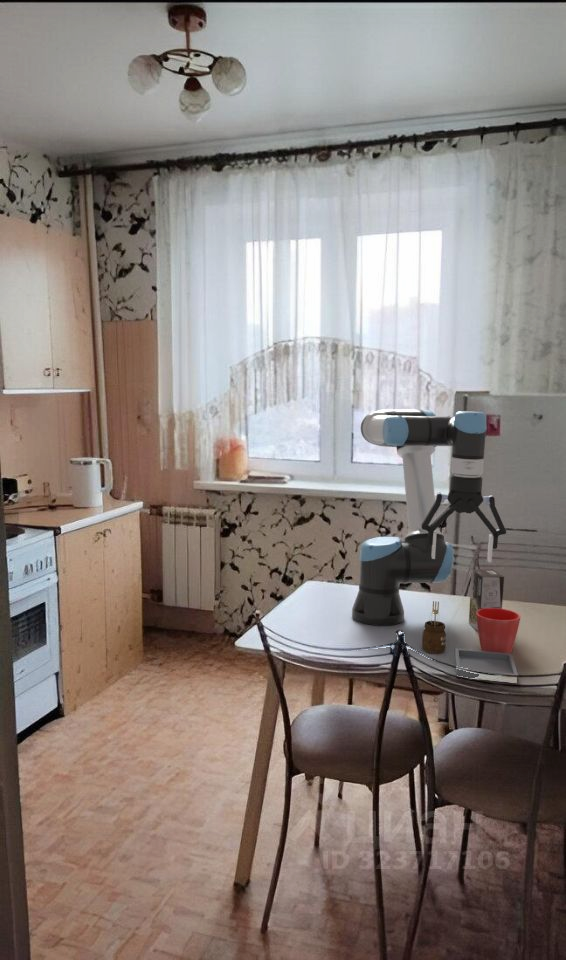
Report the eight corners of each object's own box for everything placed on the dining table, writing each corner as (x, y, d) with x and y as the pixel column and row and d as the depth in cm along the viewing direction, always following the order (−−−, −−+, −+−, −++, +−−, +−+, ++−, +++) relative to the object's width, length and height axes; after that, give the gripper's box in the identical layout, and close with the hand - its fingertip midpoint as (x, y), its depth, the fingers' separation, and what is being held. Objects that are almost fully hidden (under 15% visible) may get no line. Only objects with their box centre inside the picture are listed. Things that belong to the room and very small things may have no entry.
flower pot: (470, 641, 186) (472, 606, 184) (513, 643, 185) (515, 608, 183) (477, 656, 175) (480, 619, 174) (522, 658, 174) (525, 621, 173)
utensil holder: (421, 653, 177) (423, 607, 175) (422, 644, 183) (424, 600, 181) (445, 655, 175) (447, 609, 174) (445, 646, 181) (447, 602, 180)
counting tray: (456, 677, 162) (456, 669, 161) (454, 656, 175) (455, 648, 175) (517, 684, 159) (518, 675, 159) (511, 661, 172) (511, 653, 172)
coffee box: (501, 633, 192) (505, 576, 190) (478, 633, 192) (482, 576, 190) (489, 622, 201) (492, 568, 199) (467, 622, 201) (470, 568, 199)
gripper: (415, 474, 168) (410, 559, 171) (522, 479, 164) (515, 566, 167) (414, 470, 175) (410, 552, 179) (517, 475, 171) (510, 558, 175)
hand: (461, 559), depth 173 cm, fingers open, 13 cm apart
